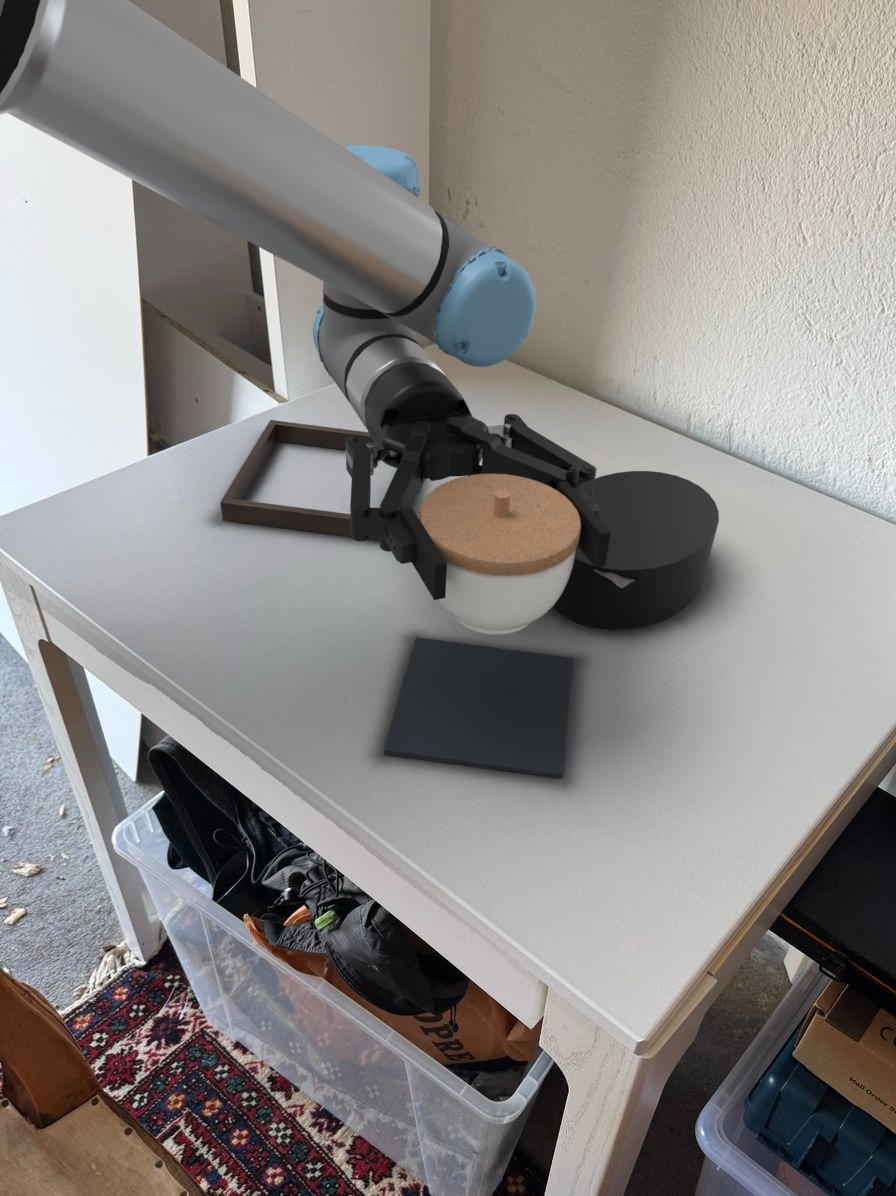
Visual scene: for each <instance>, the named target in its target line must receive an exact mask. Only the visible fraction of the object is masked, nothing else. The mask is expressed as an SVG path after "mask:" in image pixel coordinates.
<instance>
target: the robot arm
mask: <svg viewBox="0 0 896 1196" xmlns="http://www.w3.org/2000/svg"><path fill="white" fill-rule="evenodd" d="M4 114H8V115H9V116H13V118H16V119H17V120H20V121H21V122H23V123H25V124H27V125H29V126H31V127H32V128H34V129H36V130H38V131H40V132H41V133H44V134H45V135H48V136H49V137H51V138H53V139H55V140H57V141H59V142H61V143H63V144H64V145H66V146H68V147H69V148H72V149H74V150H75V151H78V152H79V153H81V154H84V155H85V156H87V157H89V158H90V159H92V160H95V161H97V162H99V163H100V164H102V165H104V166H106V167H108V168H110V169H111V170H113V171H115V172H117V173H119V174H121V175H123V176H125V177H126V178H128V179H130V180H132V181H134V182H136V183H138V184H140V185H142V186H143V187H146V188H147V189H149V190H151V191H153V192H155V193H157V194H159V195H160V196H163V198H165V199H168V200H169V201H171V202H173V203H176V204H177V205H179V206H181V207H183V208H185V209H187V210H188V211H190V212H193V213H194V214H196V215H198V216H200V217H201V218H203V219H204V220H207V221H209V222H211V223H213V224H215V225H217V226H218V227H221V228H222V229H224V230H226V231H228V232H230V233H232V234H234V235H235V236H237V237H239V238H241V239H243V240H244V241H247V242H249V243H251V244H253V245H254V246H256V247H258V248H260V249H262V250H264V251H265V252H268V253H269V254H271V255H273V256H275V257H277V258H278V259H281V260H283V261H285V262H286V263H288V264H290V265H292V266H294V267H296V268H298V269H300V270H301V271H304V272H305V273H307V274H309V275H310V276H312V277H314V278H317V279H318V280H319V281H322V284H323V289H322V294H323V297H322V303H321V304H320V305H319V309H318V310H317V312H316V314H315V317H314V320H313V323H312V338H313V339H312V340H313V343H314V347H315V349H316V351H317V354H318V359H319V361H320V363H322V364H323V368H324V370H326V372H327V374H328V376H329V377H330V378H331V379H332V380H333V381H334V383H335V384H336V386H337V387H338V388H339V390H340V391H341V393H342V394H343V396H344V397H345V398H346V400H347V402H348V403H349V404H350V406H351V407H352V409H353V410H354V412H355V414H356V415H357V417H358V418H359V420H360V421H361V423H362V424H363V426H364V428H365V429H366V430H367V432H369V434H370V436H371V437H372V439H373V440H374V443H366V444H365V442H364V441H363V439H362V438H361V437H359V436H356V435H352V436H348V437H346V439H345V442H346V450H345V467H346V468H345V469H346V471H347V473H348V475H349V476H350V478H351V485H350V486H351V487H350V504H349V510H350V513H349V514H351V537H350V538H351V539H352V540H353V541H355V542H365V541H367V540H369V539H368V538H369V535H371V536H379V537H380V541H379V548H380V549H381V550H382V551H383V552H389V553H392V555H393V557H394V558H395V560H396V561H397V562H398V563H400V564H401V565H404V564H409V563H411V565H412V566H413V567H414V569H415V571H416V573H417V574H418V576H419V577H420V579H421V581H422V582H423V584H424V586H425V588H426V589H427V591H428V593H429V594H430V596H431V598H432V599H433V601H437V600H438V599H443V598H445V594H446V573H447V562H446V561H445V559H444V558H443V556H442V555H441V553H440V551H439V550H438V548H437V547H436V545H435V544H434V542H433V541H432V539H431V537H430V536H429V534H428V533H427V531H426V530H425V528H424V526H423V525H422V523H421V522H420V520H419V516H417V514H416V512H415V511H414V509H413V508H412V506H413V504H414V502H415V499H416V497H417V495H420V493H421V491H422V488H423V486H424V484H425V481H426V480H430V482H435V481H440V480H441V481H442V480H444V479H447V478H451V477H465V476H470V475H477V474H507V475H514V476H519V477H524V478H529V479H532V480H535V481H538V482H540V483H543V484H545V485H548V486H550V487H552V488H553V489H555V490H557V491H558V492H560V493H561V494H563V495H564V496H565V497H567V499H568V500H569V501H570V502H571V503H572V504H573V505H574V507H575V508H576V509H577V511H578V513H579V516H580V518H581V532H580V539H579V543H578V545H577V546H578V547H579V548H580V549H581V551H582V552H583V553H584V554H585V556H586V557H587V558H588V559H589V560H590V562H591V563H592V564H593V565H594V567H595V568H596V567H601V566H605V564H606V558H607V552H608V547H609V541H610V535H611V531H610V530H609V529H608V528H607V527H606V525H605V524H604V523H603V522H602V521H601V520H600V518H599V517H598V513H599V509H598V506H597V505H596V504H595V503H594V501H593V500H592V496H593V489H594V483H595V478H596V476H597V470H598V469H597V467H596V466H594V465H593V464H591V463H590V462H587V461H586V460H584V459H583V458H581V457H580V456H578V455H576V454H574V453H573V452H571V451H570V450H567V448H565V447H563V446H560V445H559V444H558V443H556V442H554V441H552V440H551V439H548V438H547V437H546V436H544V435H542V434H540V433H539V432H537V431H536V430H534V429H533V428H530V427H529V426H528V425H527V423H526V422H525V421H524V420H523V419H522V417H521V416H519V415H518V414H515V413H507V414H505V416H504V421H503V424H498V425H497V424H496V425H490V426H488V425H487V424H486V423H485V422H483V421H482V420H479V419H477V418H476V417H474V416H473V415H472V412H471V410H470V407H469V405H468V403H467V402H466V400H465V398H464V397H463V395H462V393H460V391H459V390H458V388H457V387H456V386H455V385H454V384H453V383H452V381H451V380H450V379H449V378H448V377H447V376H446V374H445V372H444V371H443V370H442V369H441V367H440V366H439V365H438V363H436V361H434V359H433V358H432V357H431V356H430V354H429V353H428V352H427V351H426V349H425V348H424V347H423V346H422V345H421V344H420V342H419V341H418V340H417V337H416V333H418V334H419V335H421V336H423V337H425V338H426V339H427V340H429V341H431V342H433V343H434V344H435V345H437V347H438V349H439V350H440V351H441V352H442V353H444V354H446V355H447V356H450V357H453V358H455V359H457V360H458V361H460V362H462V363H464V364H465V365H468V366H470V367H475V368H485V367H486V368H487V367H491V366H494V365H497V364H500V363H502V362H504V361H505V360H507V359H508V358H510V356H512V355H513V354H514V353H516V352H517V350H518V349H519V348H520V346H521V345H522V344H523V341H524V340H525V338H527V335H528V333H529V331H530V330H531V328H532V326H533V324H534V323H533V322H534V320H535V315H536V310H537V309H536V308H537V295H536V290H535V286H534V283H533V281H532V279H531V276H530V275H529V274H528V272H527V271H526V270H525V269H524V268H523V266H522V265H519V264H518V263H517V262H516V261H515V260H513V259H511V257H510V256H509V255H508V254H507V253H506V252H504V251H503V250H501V249H499V248H498V247H494V246H491V245H489V244H488V243H486V242H485V241H483V240H482V239H480V238H479V237H477V236H475V234H472V233H471V232H469V231H468V230H466V229H465V228H463V227H462V226H460V225H459V224H458V223H456V222H454V220H452V219H451V218H449V217H447V216H446V215H444V214H442V213H441V212H439V211H437V210H436V209H434V208H433V206H432V205H429V204H428V203H427V202H425V201H424V200H422V198H419V197H420V196H419V195H421V188H420V186H419V170H418V168H417V164H416V162H415V160H414V158H412V157H411V156H410V155H409V154H408V153H406V152H403V151H402V150H399V149H396V148H392V147H387V146H381V145H370V144H357V145H356V144H355V145H347V146H343V145H341V144H340V143H339V142H337V141H335V140H334V139H333V138H331V137H330V136H329V135H326V134H325V133H324V132H322V131H321V130H319V129H318V128H317V127H315V126H313V125H312V124H311V123H309V122H308V121H306V120H304V119H303V118H302V117H300V116H298V115H297V114H296V113H294V112H293V111H291V109H288V108H287V107H286V106H284V105H283V104H281V103H280V102H278V101H277V100H275V99H274V98H272V97H271V96H270V95H268V94H266V93H265V92H264V91H262V90H261V89H259V88H257V87H256V86H254V85H253V84H252V83H250V82H249V81H247V80H245V79H244V78H243V77H242V76H240V75H238V74H237V73H236V72H234V71H232V70H231V69H230V68H228V67H226V66H225V65H223V64H222V63H221V62H219V61H218V60H216V59H214V57H212V56H211V55H210V54H207V53H206V52H204V51H203V50H202V49H200V48H199V47H198V46H196V45H194V44H193V43H192V42H190V41H188V40H187V39H185V38H184V37H183V36H181V35H179V34H178V33H177V32H175V31H173V30H172V29H171V28H169V27H168V26H166V25H165V24H163V23H162V22H160V21H159V20H157V19H156V18H154V17H153V16H152V15H150V14H149V13H147V12H145V11H144V10H143V9H141V8H140V7H138V6H137V5H136V4H134V3H132V2H131V1H129V0H0V116H2V115H4ZM379 461H382V462H383V463H384V464H385V465H387V466H389V467H392V468H395V469H396V470H395V473H394V474H393V477H392V479H391V481H390V483H389V484H388V485H389V486H388V488H387V489H386V492H385V494H384V496H383V498H382V500H381V503H380V504H379V507H371V498H372V497H371V494H372V493H371V492H372V476H373V475H374V473H375V469H377V468H378V465H379ZM480 463H481V464H480Z"/></svg>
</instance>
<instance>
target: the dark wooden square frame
mask: <svg viewBox="0 0 896 1196" xmlns="http://www.w3.org/2000/svg"><path fill="white" fill-rule="evenodd" d="M352 435H356V436H359V437H361V438H362V439H363V441H364V442H365V444H366V443H374V440H373V439H372V437H371V436H370V434H369V432H368V431H360V430H355V429H347V428H339V427H338V428H337V427H331V426H322V425H314V424H307V423H297V422H291V421H283V420H275V419H270V420H269V421H268V422H267V425H266V426H265V428H264V429H263V431H262V433H261V434H260V435H259V438H258V439H257V441H256V443H254V446H253V448H251V450H250V452H249V454H248V456H247V458H246V459H245V460H244V462H243V464H242V466H241V467H240V469H239V470H238V472H237V473H236V475H235V477H234V479H233V480H232V482H231V484H230V485H229V487H228V488H227V490H226V492H225V494H224V495H223V497H222V498H221V500H220V503H219V504H220V511H221V518H222V521H225V522H234V523H242V524H249V525H257V526H265V527H273V528H279V529H285V530H286V529H287V530H293V531H294V530H295V531H302V532H310V533H319V534H325V535H334V536H339V537H341V536H342V537H347V538H352V537H351V513H344V512H336V511H328V510H321V509H314V508H306V507H298V506H291V505H282V504H275V503H267V502H260V501H251V500H246V499H245V497H246V496H247V494H248V493H249V491H250V488H252V485H253V483H254V482H255V480H256V478H257V477H258V475H259V473H260V472H261V470H262V469H263V466H264V465H265V463H266V462H267V460H268V458H269V456H270V454H271V452H272V451H273V449H274V448H275V446H276V444H277V442H281V443H289V444H296V445H305V446H311V447H313V446H314V447H318V448H319V447H320V448H327V449H336V450H342V451H346V442H345V439H346V437H348V436H352ZM244 499H245V500H244ZM367 540H372V541H379V542H380V537H379V536H371V535H369V538H368V539H367Z"/></svg>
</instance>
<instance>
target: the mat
mask: <svg viewBox="0 0 896 1196" xmlns="http://www.w3.org/2000/svg"><path fill="white" fill-rule="evenodd" d="M409 656H410V657H409V659H408V663H407V665H406V670H405V673H404V677H403V681H402V684H401V688H400V690H399V695H398V698H397V702H396V705H395V709H394V712H393V716H392V720H391V723H390V727H389V730H388V734H387V737H386V741H385V745H384V748H383V755H387V756H394V757H402V758H407V759H415V760H423V761H429V762H437V763H446V764H452V765H459V766H467V767H474V768H482V769H490V770H495V771H496V770H497V771H504V772H510V773H519V774H526V775H533V776H539V777H547V778H555V779H562V778H563V769H564V759H565V748H566V740H567V739H566V738H567V727H568V717H569V708H570V706H569V705H570V695H571V685H572V676H573V675H572V674H573V664H574V658H573V657H569V656H563V655H554V654H546V653H539V652H532V651H524V650H516V649H509V648H502V647H495V646H486V645H479V644H471V643H465V642H458V641H457V642H456V641H450V640H443V639H442V640H441V639H435V638H428V637H427V638H426V637H421V636H419V637H418V636H415V638H414V642H413V645H412V649H411V652H410V655H409Z"/></svg>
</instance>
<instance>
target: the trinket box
mask: <svg viewBox="0 0 896 1196" xmlns="http://www.w3.org/2000/svg"><path fill="white" fill-rule="evenodd" d="M418 519H419V520H420V522H421V523H422V525H423V526H424V528H425V530H426V531H427V533H428V534H429V536H430V537H431V539H432V541H433V542H434V544H435V545H436V547H437V548H438V550H439V551H440V553H441V555H442V556H443V558H444V559H445V561H446V562H447V573H446V594H445V598H443V599H438V600H436V602H438V604H439V605H440V606H441V607H442V609H444V611H446V612H447V613H448V614H449V615H451V616H452V617H453V619H454V620H455V621H457V622H458V624H459V625H461V626H463V627H464V628H466V629H468V630H470V631H473V632H476V633H479V634H482V635H483V634H484V635H492V636H501V635H509V634H513V633H516V632H519V631H521V630H523V629H525V628H526V627H529V625H530V624H532V623H534V622H535V621H537V620H538V619H540V618H542V617H543V616H545V614H547V613H548V612H549V611H550V610H551V609H552V608H553V606H554V604H555V603H556V602H557V600H558V599H559V598H560V596H561V595H562V593H563V591H564V589H565V586H566V584H567V582H568V580H569V577H570V574H571V571H572V568H573V564H574V559H575V553H576V547H577V545H578V543H579V539H580V532H581V518H580V516H579V513H578V511H577V509H576V508H575V507H574V505H573V504H572V503H571V502H570V501H569V500H568V499H567V497H565V496H564V495H563V494H561V493H560V492H558V491H557V490H555V489H553V488H552V487H550V486H548V485H545V484H543V483H540V482H538V481H535V480H532V479H529V478H524V477H519V476H514V475H507V474H477V475H470V476H459V477H457V478H454V479H451V480H448V481H446V482H444V483H442V484H440V485H439V486H437V487H436V488H434V489H433V490H432V491H431V492H429V493H428V494H427V496H426V497H424V499H423V501H422V502H421V505H420V508H419V513H418Z"/></svg>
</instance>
